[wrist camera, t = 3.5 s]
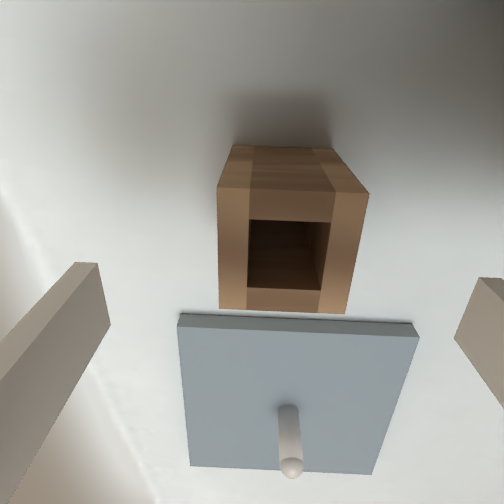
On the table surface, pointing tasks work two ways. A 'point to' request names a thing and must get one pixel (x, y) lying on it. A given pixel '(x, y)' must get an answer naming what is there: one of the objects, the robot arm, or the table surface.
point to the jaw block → (287, 229)
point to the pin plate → (290, 391)
